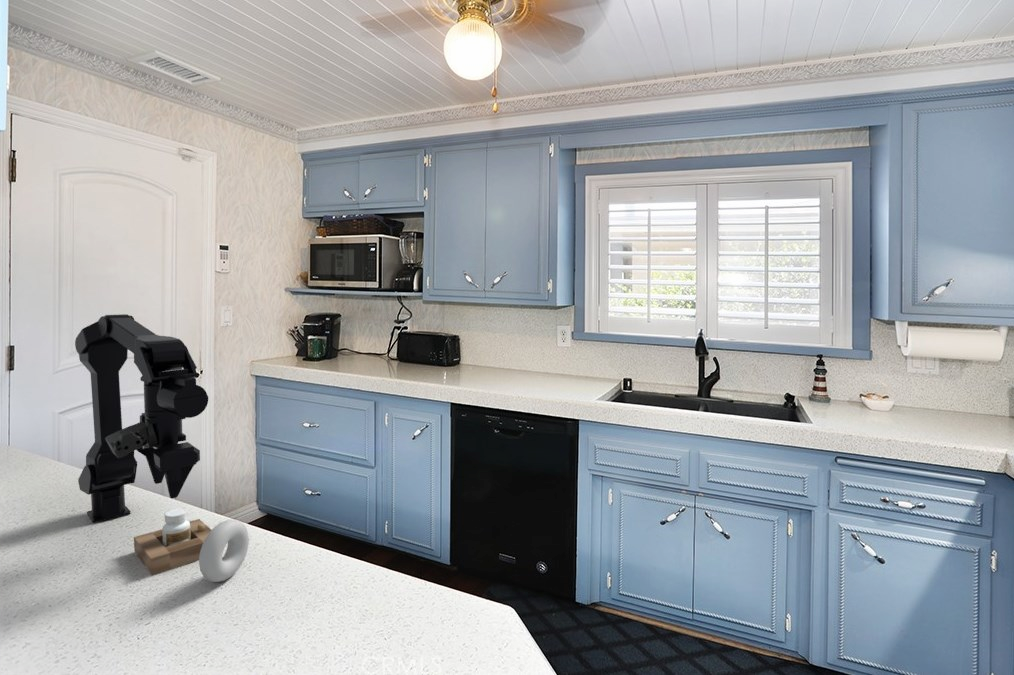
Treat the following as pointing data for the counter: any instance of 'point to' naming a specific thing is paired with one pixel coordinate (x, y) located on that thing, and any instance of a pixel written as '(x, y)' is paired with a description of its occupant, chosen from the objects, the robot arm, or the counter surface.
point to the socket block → (170, 549)
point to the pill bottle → (175, 527)
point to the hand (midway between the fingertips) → (165, 490)
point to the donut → (214, 545)
